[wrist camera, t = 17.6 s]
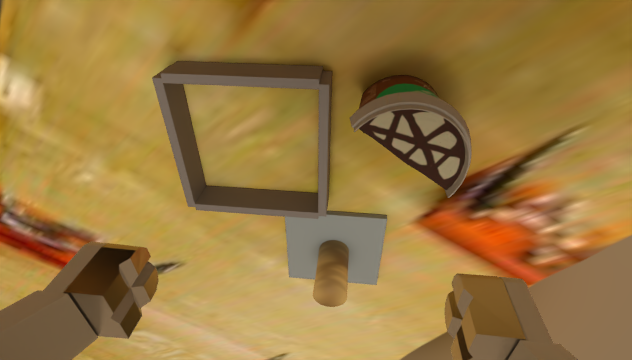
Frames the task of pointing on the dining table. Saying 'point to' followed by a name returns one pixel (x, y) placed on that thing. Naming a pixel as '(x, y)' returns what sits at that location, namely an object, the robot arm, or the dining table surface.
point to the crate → (187, 151)
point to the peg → (331, 274)
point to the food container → (417, 128)
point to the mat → (346, 227)
